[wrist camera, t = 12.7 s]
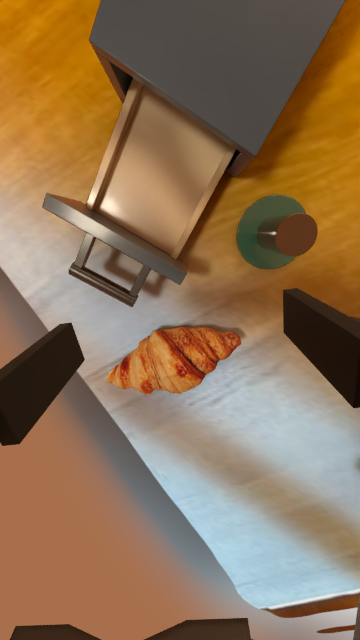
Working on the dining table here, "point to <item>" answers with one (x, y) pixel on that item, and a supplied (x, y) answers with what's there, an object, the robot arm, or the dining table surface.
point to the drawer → (146, 190)
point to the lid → (275, 232)
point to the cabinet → (214, 58)
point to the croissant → (173, 359)
